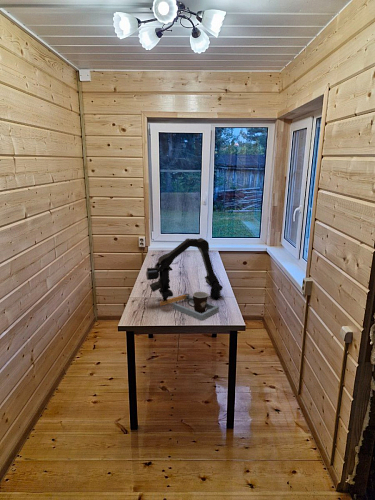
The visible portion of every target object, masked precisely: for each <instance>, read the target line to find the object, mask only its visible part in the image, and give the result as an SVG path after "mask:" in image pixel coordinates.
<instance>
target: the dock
mask: <svg viewBox="0 0 375 500" xmlns="http://www.w3.org/2000/svg"><path fill="white" fill-rule="evenodd" d="M191 298H192V299H193V296H191V295H189V299H191ZM189 299H183V301H184V302H188V300H189ZM189 303H192V304H194V301H193V300H190V301H189ZM172 309H174V310H176V311H178V312H180V313H182V314H185V315H188V316H189V317H192V318H194V319H197V320H199V321H204V320H206V319H208V318H209V317H211V316H213V315H215V314H217V313H218V312H219V311H220V310H219V309H220V306H217V305H216V304H212V303H210V302H208V301H207V305H206V312H204V313H198V312H196V311H195V310H193V309H191V308H188V307H186V306H183V305H182V304H178V303H176V302H173V303H172Z"/></svg>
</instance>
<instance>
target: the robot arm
mask: <svg viewBox="0 0 375 500" xmlns="http://www.w3.org/2000/svg"><path fill="white" fill-rule="evenodd" d="M190 247H194V248H197V249H198V251H199V253H200V255H201V258H202V262H203V265H204V268H205V269H204V270H205V272H206V276H204V279H205V283H206V285H208V286H209V287H210V292H209V293H210V295H208V298H209V299H212V300H215V301H217V300H220V299H221V298H223V296H222V295H221V293H222V292H221V291H222V290H223V286H222V285H221V284H220V280H219V278H218V277H217V275H216V274H215V271H214V268H213V264H212V260H211V257H210V253H209V252H210V245H209V241H208V240H206V239H204V238H203V237H200V238H199V237H198V238H186V239H184V241H183V242H181V243H180V244H179V245H177V246H176V247H175V248H174V249H172V250H170V251H169V252H168V253H164V254H163V255H161V256H159V258H158V260H157V262H156V264H155V265H154V267H147V268H146V271H145V272H146V273H145V276H146V280H147V281H151V280H158V281H155V282H152V283H150V284H149V287H150V289H151V292H153V293H154V292H156V291H158V292H159V294H160V295H161V297H162V301H163V300H167V299H169V298H171V297H172V298H173V297H174V293H173V291H172V290H171V286H170V282H171V280H170V271H173V268H172V267H171V265H172V264H173V262H174V260H175V259H176V258H177V257H179V256H180V255H182V254H183V253H184V252H185V251H187V249H189V248H190Z"/></svg>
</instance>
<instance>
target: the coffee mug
mask: <svg viewBox="0 0 375 500" xmlns="http://www.w3.org/2000/svg"><path fill="white" fill-rule="evenodd" d="M192 297H193V299H192V298H191V299H189V300H188V301H187V304H188V305H189V306H190V307H192V308H194V311H196V312H198V313H201V314H202V313H204V312H206V311H207V308H206V305H207V302H208V298H209V294H208V292H206V291H205V292H204V291H194V293H192ZM190 300H193V301H194V303H193V305H191V304H190V302H189V301H190Z"/></svg>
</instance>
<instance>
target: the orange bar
mask: <svg viewBox="0 0 375 500" xmlns="http://www.w3.org/2000/svg"><path fill="white" fill-rule="evenodd" d="M189 296H190V293H185V294H182V295H179V296H175V297H174V296H173V297H172V298H171V297H170V298H167V300H163V299H162V300H160V301H159V306H161V307H162V306H165V305H169V304H174V303H176V302H179V301H184V299H189Z"/></svg>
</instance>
